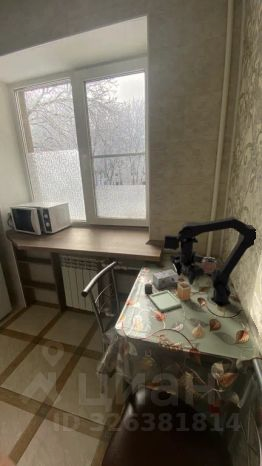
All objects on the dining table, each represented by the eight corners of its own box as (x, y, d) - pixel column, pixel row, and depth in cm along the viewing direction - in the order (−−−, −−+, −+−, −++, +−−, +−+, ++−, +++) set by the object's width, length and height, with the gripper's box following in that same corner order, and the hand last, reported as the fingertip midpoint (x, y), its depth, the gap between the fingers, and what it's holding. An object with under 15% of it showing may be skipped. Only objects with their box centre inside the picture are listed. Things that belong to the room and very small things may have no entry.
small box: (186, 265, 135) (187, 250, 132) (195, 268, 131) (196, 253, 127) (177, 271, 128) (177, 255, 125) (186, 275, 124) (187, 259, 120)
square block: (190, 298, 103) (191, 286, 100) (182, 301, 101) (183, 288, 99) (184, 293, 107) (185, 281, 104) (177, 295, 105) (177, 283, 103)
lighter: (215, 271, 127) (216, 256, 123) (215, 274, 124) (217, 259, 120) (201, 270, 129) (202, 255, 125) (201, 273, 125) (202, 258, 122)
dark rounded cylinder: (153, 293, 108) (153, 286, 106) (146, 295, 106) (146, 288, 105) (150, 289, 111) (150, 282, 110) (143, 291, 110) (143, 284, 108)
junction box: (178, 283, 115) (179, 274, 113) (157, 289, 110) (157, 279, 108) (171, 277, 121) (171, 268, 119) (151, 282, 117) (151, 273, 115)
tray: (181, 305, 98) (181, 303, 97) (160, 312, 94) (160, 309, 93) (167, 292, 108) (167, 289, 108) (148, 297, 104) (148, 295, 104)
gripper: (215, 254, 90) (212, 285, 95) (188, 240, 107) (186, 268, 112) (194, 259, 86) (192, 291, 91) (169, 244, 103) (169, 272, 108)
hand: (184, 279), depth 101 cm, fingers open, 9 cm apart
